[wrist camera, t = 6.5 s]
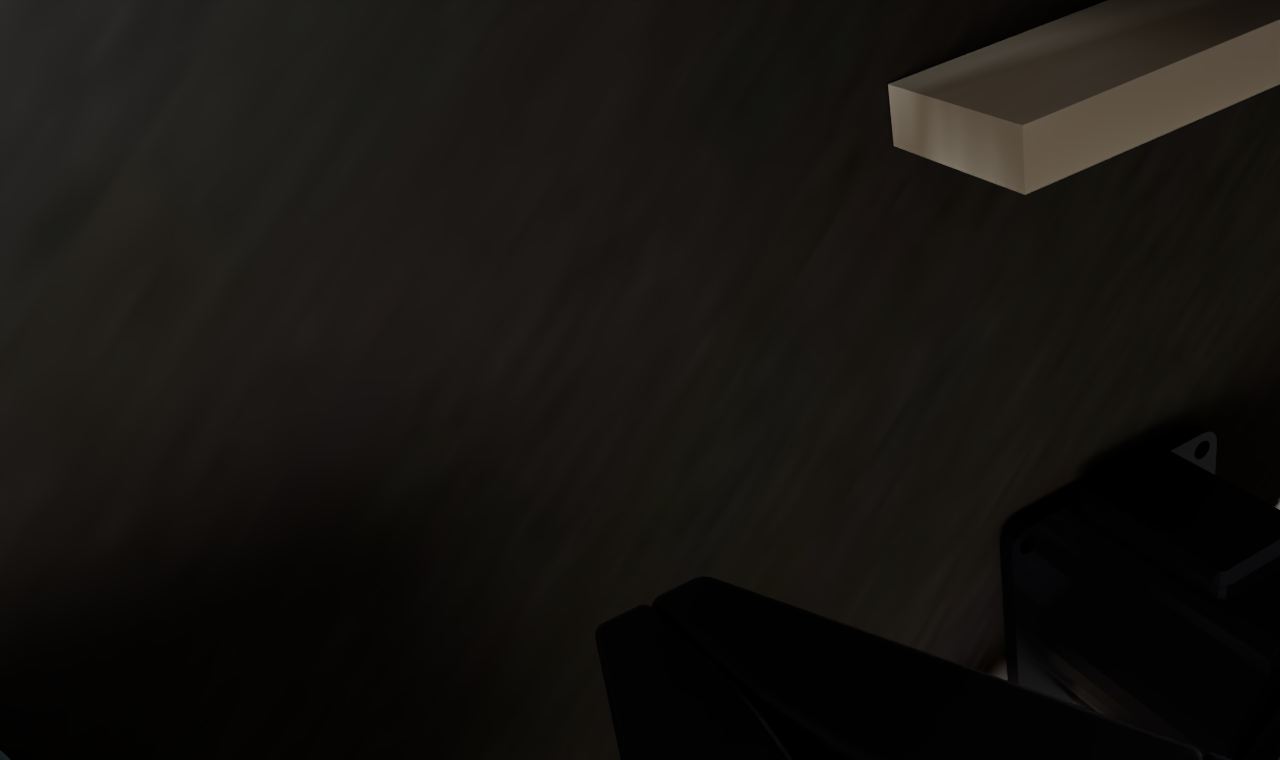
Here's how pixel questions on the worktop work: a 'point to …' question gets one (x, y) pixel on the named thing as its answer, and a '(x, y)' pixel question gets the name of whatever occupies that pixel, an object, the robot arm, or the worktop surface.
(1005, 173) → the lane walls
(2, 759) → the flower pot
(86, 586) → the worktop surface
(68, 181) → the worktop surface
